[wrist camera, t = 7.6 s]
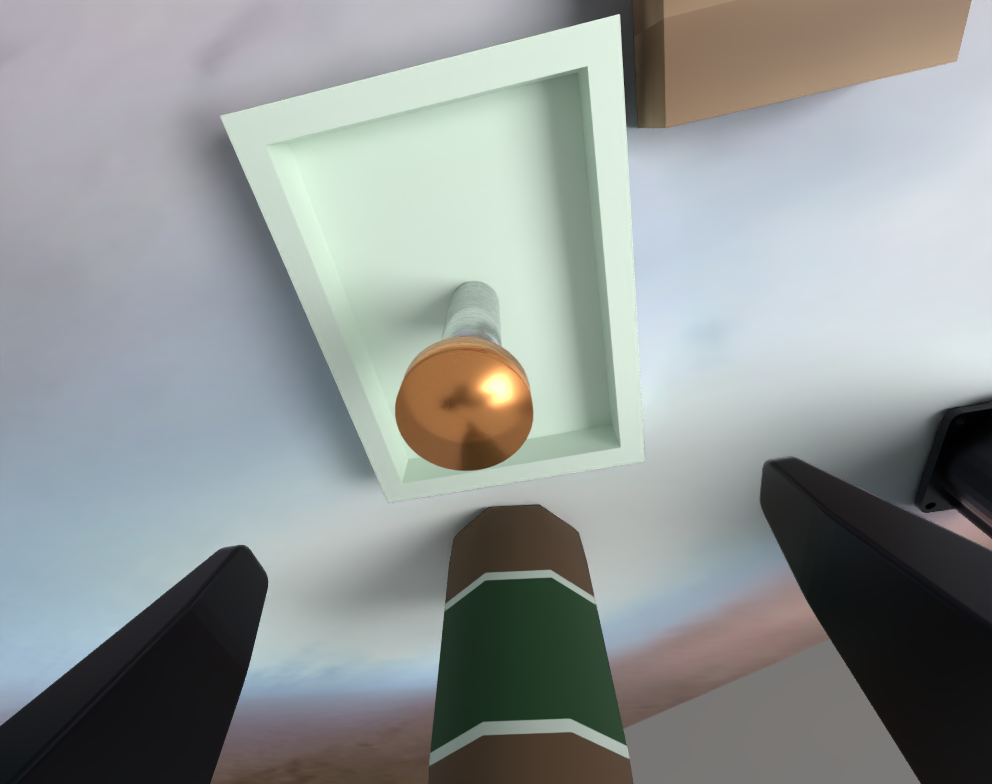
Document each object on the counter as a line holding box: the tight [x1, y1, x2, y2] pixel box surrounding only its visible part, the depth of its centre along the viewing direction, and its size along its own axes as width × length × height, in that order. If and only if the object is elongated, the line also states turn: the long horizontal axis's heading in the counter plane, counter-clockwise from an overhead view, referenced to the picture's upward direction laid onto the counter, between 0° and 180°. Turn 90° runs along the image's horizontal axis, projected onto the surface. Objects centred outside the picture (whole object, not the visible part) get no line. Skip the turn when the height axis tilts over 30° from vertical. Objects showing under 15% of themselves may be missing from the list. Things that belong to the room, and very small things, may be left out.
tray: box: [220, 14, 645, 503], centre depth 18 cm, size 16×12×2 cm
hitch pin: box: [395, 281, 533, 471], centre depth 15 cm, size 3×3×8 cm
